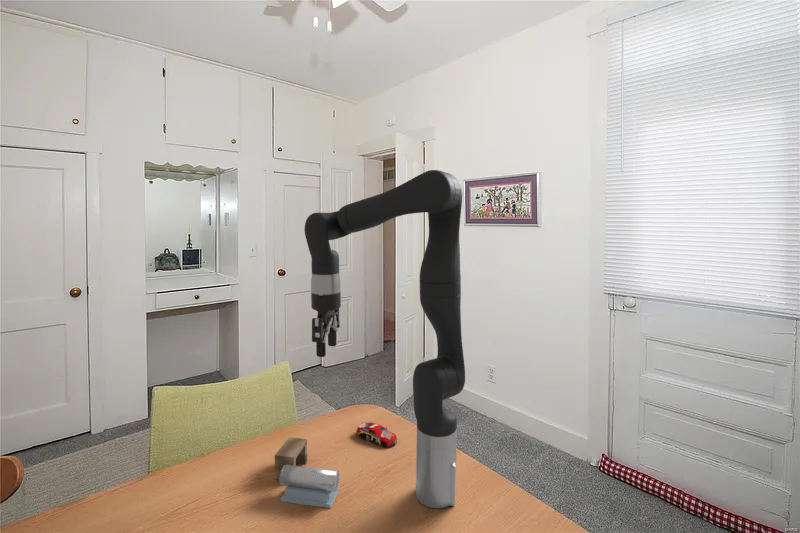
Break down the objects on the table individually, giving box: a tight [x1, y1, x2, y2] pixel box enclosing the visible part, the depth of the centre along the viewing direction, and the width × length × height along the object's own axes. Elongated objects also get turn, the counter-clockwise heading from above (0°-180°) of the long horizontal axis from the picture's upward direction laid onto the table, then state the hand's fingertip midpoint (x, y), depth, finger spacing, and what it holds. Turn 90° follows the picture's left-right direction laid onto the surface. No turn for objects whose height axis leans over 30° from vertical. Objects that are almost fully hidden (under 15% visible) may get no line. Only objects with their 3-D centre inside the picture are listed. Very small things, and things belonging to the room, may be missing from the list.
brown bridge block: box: [274, 436, 308, 480], centre depth 106 cm, size 5×8×6 cm, turn 170°
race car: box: [356, 421, 398, 449], centre depth 121 cm, size 13×5×4 cm, turn 56°
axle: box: [279, 464, 340, 492], centre depth 96 cm, size 13×4×4 cm, turn 80°
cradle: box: [280, 486, 340, 509], centre depth 97 cm, size 12×6×3 cm, turn 80°
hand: (326, 350), depth 108 cm, fingers open, 8 cm apart
